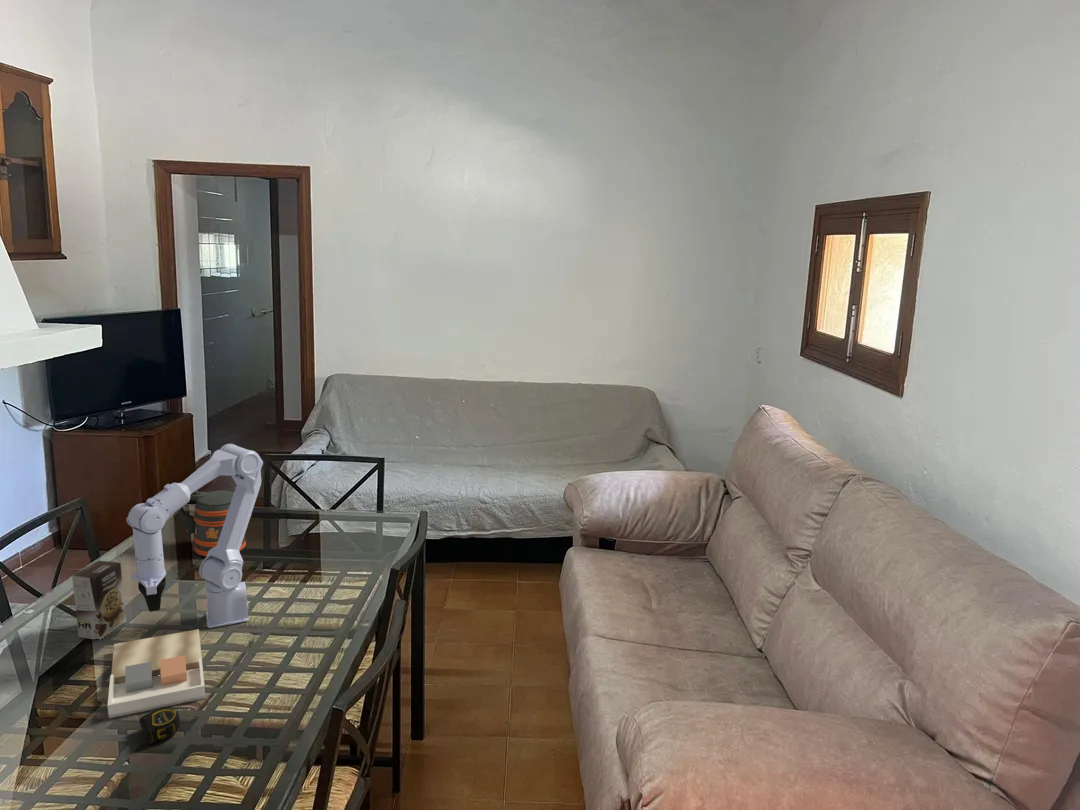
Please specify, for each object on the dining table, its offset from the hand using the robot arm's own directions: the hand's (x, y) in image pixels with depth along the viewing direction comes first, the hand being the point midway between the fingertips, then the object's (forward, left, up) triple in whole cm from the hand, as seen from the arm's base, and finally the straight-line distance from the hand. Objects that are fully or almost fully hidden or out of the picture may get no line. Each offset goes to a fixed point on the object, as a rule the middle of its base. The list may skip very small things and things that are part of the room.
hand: (154, 609), depth 186 cm
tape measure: (0, +35, -10) cm, 37 cm away
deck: (0, +7, -9) cm, 11 cm away
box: (0, +20, -9) cm, 22 cm away
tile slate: (+3, +16, -8) cm, 18 cm away
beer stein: (-15, -54, -10) cm, 57 cm away
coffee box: (+12, -13, -10) cm, 20 cm away
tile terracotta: (-3, +16, -8) cm, 18 cm away
